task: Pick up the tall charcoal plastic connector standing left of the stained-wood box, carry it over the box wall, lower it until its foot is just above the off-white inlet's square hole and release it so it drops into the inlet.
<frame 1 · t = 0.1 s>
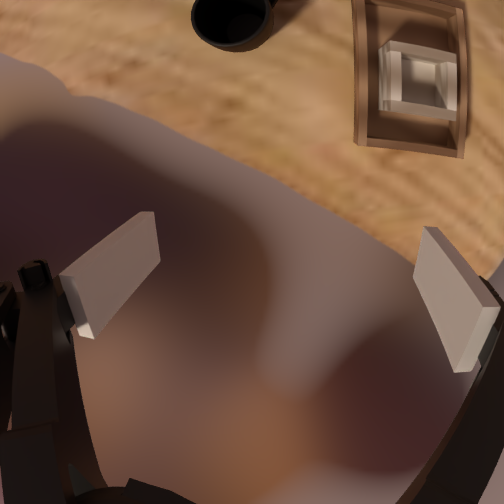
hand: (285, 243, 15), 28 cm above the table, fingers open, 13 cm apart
mug: (257, 21, 33), on the table
box: (407, 73, 32), on the table
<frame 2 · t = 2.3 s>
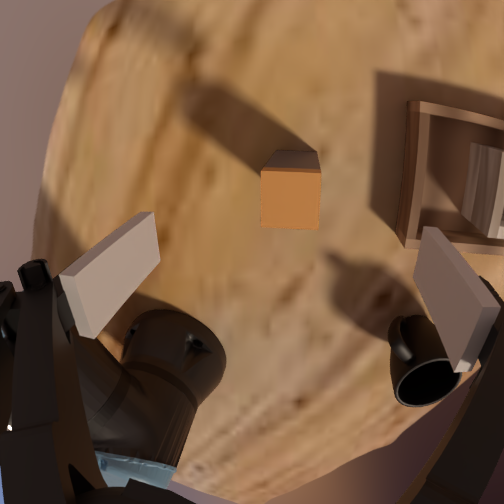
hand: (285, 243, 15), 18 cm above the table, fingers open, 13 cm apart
mug: (405, 322, 37), on the table
connector: (296, 170, 31), on the table
box: (482, 180, 28), on the table
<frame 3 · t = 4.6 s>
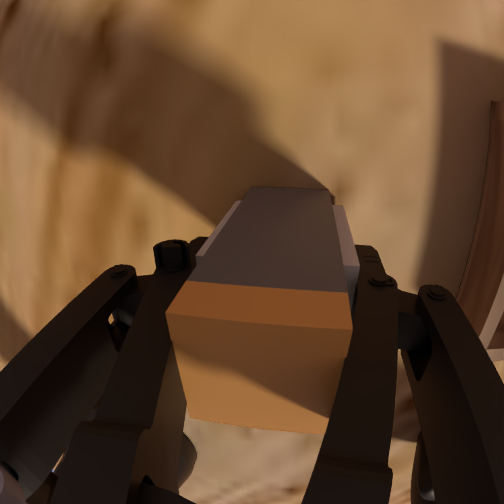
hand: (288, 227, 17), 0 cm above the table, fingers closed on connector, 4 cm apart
mug: (437, 421, 23), on the table
connector: (289, 224, 17), on the table, touching gripper
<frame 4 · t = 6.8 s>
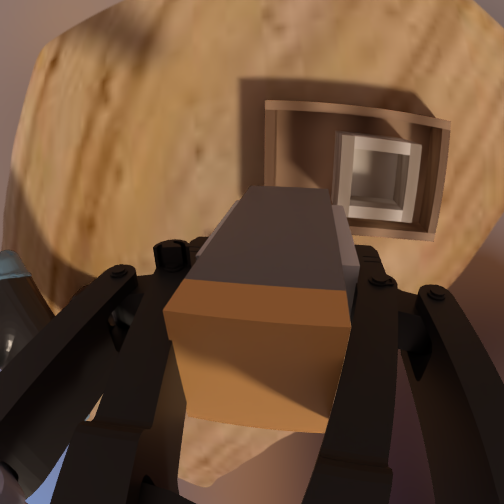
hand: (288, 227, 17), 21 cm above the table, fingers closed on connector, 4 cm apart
connector: (288, 223, 17), point 21 cm above the table, touching gripper
box: (354, 166, 35), on the table
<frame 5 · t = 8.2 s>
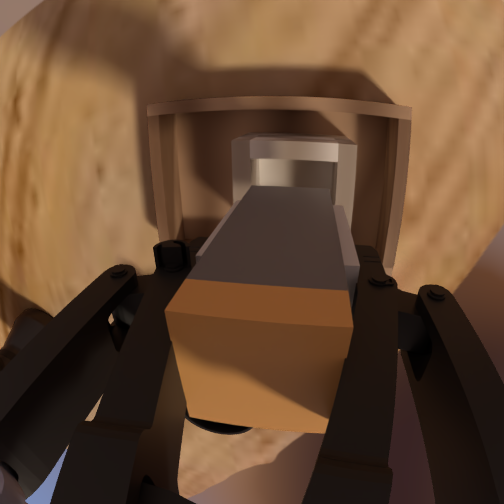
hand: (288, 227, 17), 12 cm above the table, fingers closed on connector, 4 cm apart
mug: (224, 340, 37), on the table
connector: (289, 223, 17), point 11 cm above the table, touching gripper
box: (279, 177, 27), on the table
when the fingers open (8 cm above the table, at t = 9.1 s): connector drops 5 cm, resting on box.
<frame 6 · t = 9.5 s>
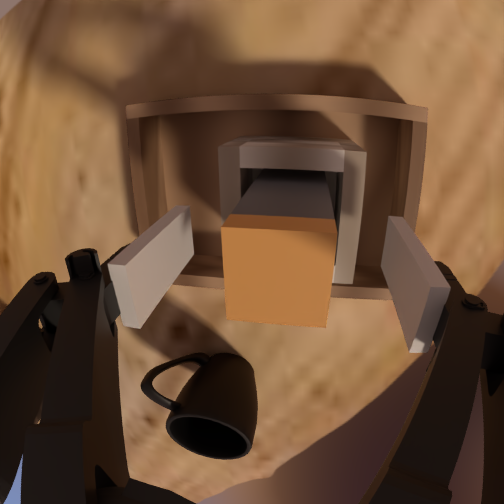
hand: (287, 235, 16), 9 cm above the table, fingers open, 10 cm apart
mug: (217, 359, 34), on the table
connector: (293, 197, 22), point 3 cm above the table, touching box
box: (276, 186, 24), on the table
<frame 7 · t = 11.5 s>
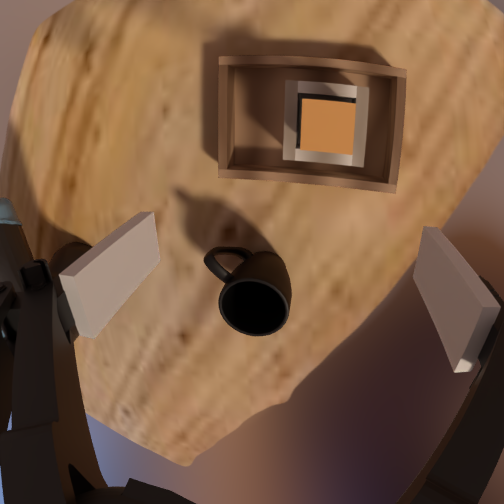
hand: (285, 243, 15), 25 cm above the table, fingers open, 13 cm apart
mug: (257, 258, 44), on the table
connector: (324, 120, 32), point 3 cm above the table, touching box
box: (311, 119, 35), on the table
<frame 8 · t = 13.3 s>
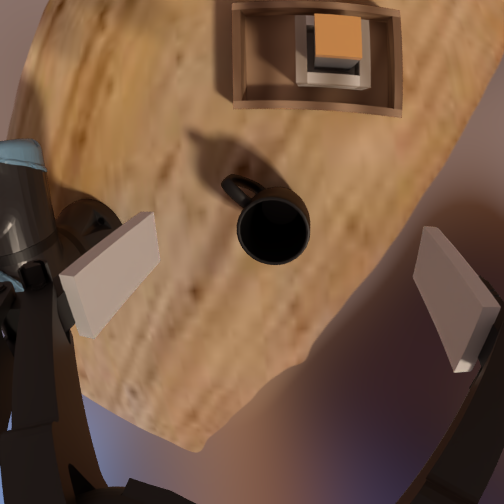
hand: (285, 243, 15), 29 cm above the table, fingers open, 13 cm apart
mug: (271, 196, 44), on the table
connector: (330, 54, 31), point 3 cm above the table, touching box
box: (317, 58, 34), on the table
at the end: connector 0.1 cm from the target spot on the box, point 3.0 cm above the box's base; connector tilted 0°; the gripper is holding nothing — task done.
